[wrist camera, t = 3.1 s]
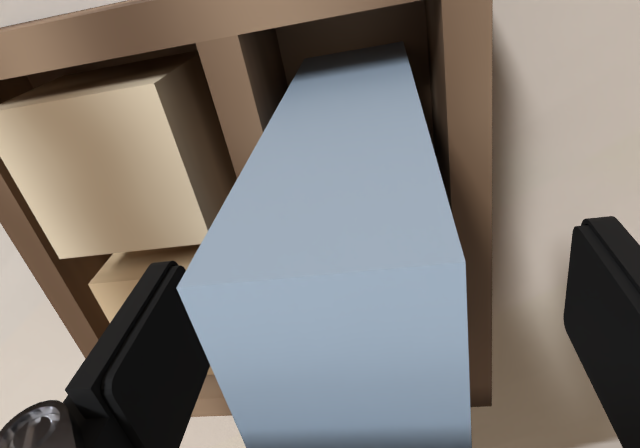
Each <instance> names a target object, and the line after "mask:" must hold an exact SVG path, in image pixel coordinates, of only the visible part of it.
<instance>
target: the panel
mask: <svg viewBox="0 0 640 448" xmlns="http://www.w3.org/2000/svg"><path fill="white" fill-rule="evenodd" d="M177 291H178V293H179V295H180V297H181V300H182V302H183V304H184V307H185V309H186V311H187V313H188V316H189V318H190V320H191V322H192V325H193V327H194V329H195V332H196V334H197V336H198V338H199V341H200V343H201V345H202V348H203V350H204V352H205V354H206V357H207V359H208V361H209V363H210V366H211V368H212V370H213V373H214V375H215V377H216V379H217V382H218V384H219V386H220V389H221V391H222V393H223V395H224V398H225V400H226V402H227V405H228V407H229V409H230V411H231V414H232V416H233V418H234V420H235V423H236V425H237V427H238V430H239V432H240V434H241V436H242V439H243V441H244V443H245V446H246V448H472V441H471V411H470V381H469V351H468V321H467V291H466V262H465V258H464V255H463V251H462V248H461V244H460V241H459V237H458V234H457V230H456V227H455V223H454V219H453V216H452V212H451V209H450V205H449V202H448V198H447V195H446V191H445V188H444V184H443V181H442V177H441V174H440V170H439V167H438V163H437V159H436V156H435V152H434V149H433V145H432V142H431V138H430V135H429V131H428V128H427V124H426V121H425V117H424V114H423V110H422V106H421V103H420V99H419V96H418V92H417V89H416V85H415V82H414V78H413V75H412V71H411V68H410V64H409V61H408V57H407V53H406V50H405V46H404V43H403V41H402V42H396V43H390V44H385V45H379V46H373V47H368V48H362V49H356V50H350V51H345V52H339V53H333V54H328V55H322V56H316V57H311V58H305V59H304V60H303V62H302V64H301V66H300V68H299V69H298V71H297V73H296V75H295V77H294V78H293V80H292V82H291V84H290V85H289V87H288V89H287V91H286V93H285V94H284V96H283V98H282V100H281V102H280V103H279V105H278V107H277V109H276V111H275V112H274V114H273V116H272V118H271V119H270V121H269V123H268V125H267V127H266V128H265V130H264V132H263V134H262V136H261V137H260V139H259V141H258V143H257V145H256V146H255V148H254V150H253V152H252V153H251V155H250V157H249V159H248V161H247V162H246V164H245V166H244V168H243V170H242V171H241V173H240V175H239V177H238V179H237V180H236V182H235V184H234V186H233V187H232V189H231V191H230V193H229V195H228V196H227V198H226V200H225V202H224V204H223V205H222V207H221V209H220V211H219V213H218V214H217V216H216V218H215V220H214V221H213V223H212V225H211V227H210V229H209V230H208V232H207V234H206V236H205V238H204V239H203V241H202V243H201V245H200V247H199V248H198V250H197V252H196V254H195V255H194V257H193V259H192V261H191V263H190V264H189V266H188V268H187V270H186V272H185V273H184V275H183V277H182V279H181V280H180V282H179V284H178V286H177Z"/></svg>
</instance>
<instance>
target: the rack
mask: <svg viewBox="0 0 640 448" xmlns="http://www.w3.org/2000/svg"><path fill="white" fill-rule="evenodd" d="M402 41H403V43H404V46H405V50H406V53H407V57H408V61H409V64H410V68H411V71H412V75H413V78H414V82H415V85H416V89H417V92H418V96H419V99H420V103H421V106H422V110H423V114H424V117H425V121H426V124H427V128H428V131H429V135H430V138H431V142H432V145H433V149H434V152H435V156H436V159H437V163H438V167H439V170H440V174H441V177H442V181H443V184H444V188H445V191H446V195H447V198H448V202H449V205H450V209H451V212H452V216H453V219H454V223H455V227H456V230H457V234H458V237H459V241H460V244H461V248H462V251H463V255H464V258H465V262H466V291H467V321H468V351H469V381H470V407H481V406H492V0H128V1H123V2H118V3H114V4H109V5H104V6H100V7H95V8H90V9H86V10H81V11H76V12H72V13H67V14H62V15H58V16H53V17H48V18H44V19H39V20H34V21H29V22H25V23H20V24H15V25H11V26H6V27H1V28H0V104H1V103H3V102H5V101H8V100H10V99H12V98H14V97H17V96H19V95H21V94H23V93H25V92H28V91H30V90H32V89H34V88H36V87H39V86H41V85H43V84H45V83H48V82H50V81H52V80H54V79H56V78H59V77H61V76H63V75H67V74H73V73H78V72H84V71H89V70H94V69H100V68H105V67H110V66H116V65H121V64H126V63H132V62H137V61H142V60H148V59H153V58H158V57H164V56H169V55H174V54H180V53H185V52H190V51H196V50H198V53H199V56H200V59H201V63H202V66H203V69H204V72H205V76H206V79H207V82H208V85H209V89H210V92H211V95H212V98H213V102H214V105H215V108H216V111H217V115H218V118H219V121H220V125H221V128H222V131H223V134H224V138H225V141H226V144H227V147H228V151H229V154H230V157H231V160H232V164H233V167H234V170H235V173H236V177H237V179H238V177H239V175H240V173H241V171H242V170H243V168H244V166H245V164H246V162H247V161H248V159H249V157H250V155H251V153H252V152H253V150H254V148H255V146H256V145H257V143H258V141H259V139H260V137H261V136H262V134H263V132H264V130H265V128H266V127H267V125H268V123H269V121H270V119H271V118H272V116H273V114H274V112H275V111H276V109H277V107H278V105H279V103H280V102H281V100H282V98H283V96H284V94H285V93H286V91H287V89H288V87H289V85H290V84H291V82H292V80H293V78H294V77H295V75H296V73H297V71H298V69H299V68H300V66H301V64H302V62H303V60H304V59H305V58H311V57H316V56H322V55H328V54H333V53H339V52H345V51H350V50H356V49H362V48H368V47H373V46H379V45H385V44H390V43H396V42H402ZM0 223H1V224H2V226H3V228H4V229H5V231H6V232H7V234H8V236H9V237H10V239H11V240H12V242H13V244H14V245H15V247H16V248H17V250H18V252H19V253H20V255H21V256H22V258H23V259H24V261H25V263H26V264H27V266H28V267H29V269H30V271H31V272H32V274H33V275H34V277H35V279H36V280H37V282H38V283H39V285H40V287H41V288H42V290H43V291H44V293H45V295H46V296H47V298H48V299H49V301H50V303H51V304H52V306H53V307H54V309H55V310H56V312H57V314H58V315H59V317H60V318H61V320H62V322H63V323H64V325H65V326H66V328H67V330H68V331H69V333H70V334H71V336H72V338H73V339H74V341H75V342H76V344H77V346H78V347H79V349H80V350H81V352H82V354H83V355H84V357H85V358H87V356H88V355H89V353H90V352H91V350H92V349H93V347H94V346H95V345H96V343H97V342H98V340H99V339H100V337H101V336H102V334H103V333H104V331H105V330H106V328H107V327H108V325H109V324H110V323H109V321H108V319H107V317H106V316H105V314H104V312H103V310H102V308H101V307H100V305H99V303H98V301H97V300H96V298H95V296H94V294H93V292H92V291H91V289H90V287H89V285H88V284H89V282H90V281H91V280H92V279H93V278H94V276H95V275H96V274H97V273H98V271H99V270H100V269H101V268H102V267H103V265H104V264H105V263H106V262H107V260H108V259H109V258H110V257H111V256H112V254H113V253H112V254H103V255H93V256H84V257H75V258H65V259H59V257H58V255H57V254H56V252H55V250H54V249H53V247H52V245H51V243H50V242H49V240H48V238H47V236H46V235H45V233H44V231H43V230H42V228H41V226H40V224H39V223H38V221H37V219H36V217H35V216H34V214H33V212H32V211H31V209H30V207H29V205H28V204H27V202H26V200H25V198H24V197H23V195H22V193H21V192H20V190H19V188H18V186H17V185H16V183H15V181H14V179H13V178H12V176H11V174H10V173H9V171H8V169H7V167H6V166H5V164H4V162H3V160H2V159H1V157H0ZM228 415H232V414H231V411H230V409H229V407H228V405H227V402H226V400H225V398H224V395H223V393H222V391H221V389H220V386H219V384H218V382H217V379H216V377H215V375H206V378H205V381H204V383H203V386H202V389H201V391H200V394H199V396H198V399H197V402H196V404H195V407H194V410H193V412H192V415H191V417H200V416H228Z"/></svg>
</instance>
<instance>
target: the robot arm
mask: <svg viewBox="0 0 640 448" xmlns="http://www.w3.org/2000/svg"><path fill="white" fill-rule="evenodd" d="M185 272H186V270H185V268H184V267H183V266H181V265H180V266H179V265H178V263H177V262H175V261H164V262H154V263H151V264H150V265H149V266H148V268H147V269H146V271H145V272H144V274H143V275H142V277H141V278H140V280H139V281H138V283H137V284H136V286H135V287H134V289H133V290H132V292H131V293H130V294H129V296H128V297H127V299H126V300H125V302H124V303H123V305H122V306H121V308H120V309H119V311H118V312H117V314H116V315H115V317H114V318H113V319H112V321H111V322H110V324H109V325H108V327H107V328H106V330H105V331H104V333H103V334H102V336H101V337H100V339H99V340H98V342H97V343H96V345H95V346H94V347H93V349H92V350H91V352H90V353H89V355H88V356H87V358H86V359H85V361H84V362H83V364H82V365H81V367H80V368H79V370H78V371H77V372H76V374H75V375H74V377H73V378H72V380H71V381H70V383H69V384H68V386H67V387H66V389H65V391H66V392H67V394H68V396H67V397H66V399H65V400H64V402H63V403H62V402H60V401H57V400H48V401H44V402H40V403H37V404H35V405H33V406H30V407H28V408H26V409H25V410H23V411H22V412H20V413H19V414H17V415H16V416H15V417H14V418H12V419H11V420H10V421H9V422H8V423H7V424H6V425H5V426H4V427H3V429H2V430H1V431H0V448H179V447H180V444H181V441H182V439H183V436H184V433H185V431H186V428H187V425H188V423H189V420H190V418H191V415H192V412H193V410H194V407H195V404H196V402H197V399H198V396H199V394H200V391H201V389H202V386H203V383H204V381H205V378H206V375H207V373H208V370H209V367H210V363H209V361H208V359H207V357H206V354H205V352H204V350H203V348H202V345H201V343H200V341H199V338H198V336H197V334H196V332H195V329H194V327H193V325H192V322H191V320H190V318H189V316H188V313H187V311H186V309H185V307H184V304H183V302H182V300H181V297H180V295H179V293H178V291H177V286H178V284H179V282H180V280H181V279H182V277H183V275H184V273H185ZM564 325H565V329H566V332H567V334H568V336H569V338H570V340H571V342H572V344H573V346H574V348H575V350H576V353H577V355H578V357H579V359H580V361H581V363H582V365H583V367H584V369H585V371H586V373H587V375H588V377H589V379H590V381H591V383H592V385H593V387H594V389H595V391H596V393H597V396H598V398H599V400H600V402H601V404H602V406H603V408H604V410H605V412H606V414H607V416H608V418H609V420H610V422H611V424H612V426H613V428H614V430H615V432H616V434H617V437H618V439H619V441H620V443H621V444H622V447H623V448H640V245H639V244H638V243H637V242H636V241H635V239H634V238H633V237H632V236H631V235H630V234H629V232H628V231H627V230H626V229H625V228H624V227H623V225H622V224H621V223H620V222H619V221H618V220H617V219H616V218H615V217H613V216H609V217H599V218H590V219H584V220H583V222H582V224H581V226H576V227H574V229H573V234H572V243H571V253H570V262H569V271H568V281H567V290H566V299H565V309H564Z"/></svg>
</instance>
